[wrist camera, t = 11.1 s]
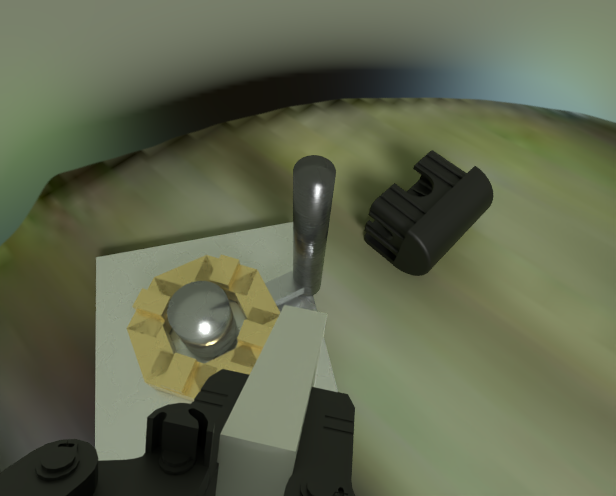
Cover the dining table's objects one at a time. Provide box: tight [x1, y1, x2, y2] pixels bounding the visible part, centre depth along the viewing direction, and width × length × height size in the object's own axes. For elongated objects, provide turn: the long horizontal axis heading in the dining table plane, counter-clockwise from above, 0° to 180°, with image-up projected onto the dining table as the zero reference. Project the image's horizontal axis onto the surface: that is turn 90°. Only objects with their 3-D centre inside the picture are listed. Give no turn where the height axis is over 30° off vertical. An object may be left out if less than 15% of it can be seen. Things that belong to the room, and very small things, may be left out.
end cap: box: [365, 150, 493, 276], centre depth 39 cm, size 10×7×7 cm
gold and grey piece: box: [126, 155, 336, 402], centre depth 29 cm, size 16×11×15 cm
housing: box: [95, 222, 338, 461], centre depth 33 cm, size 18×18×6 cm
